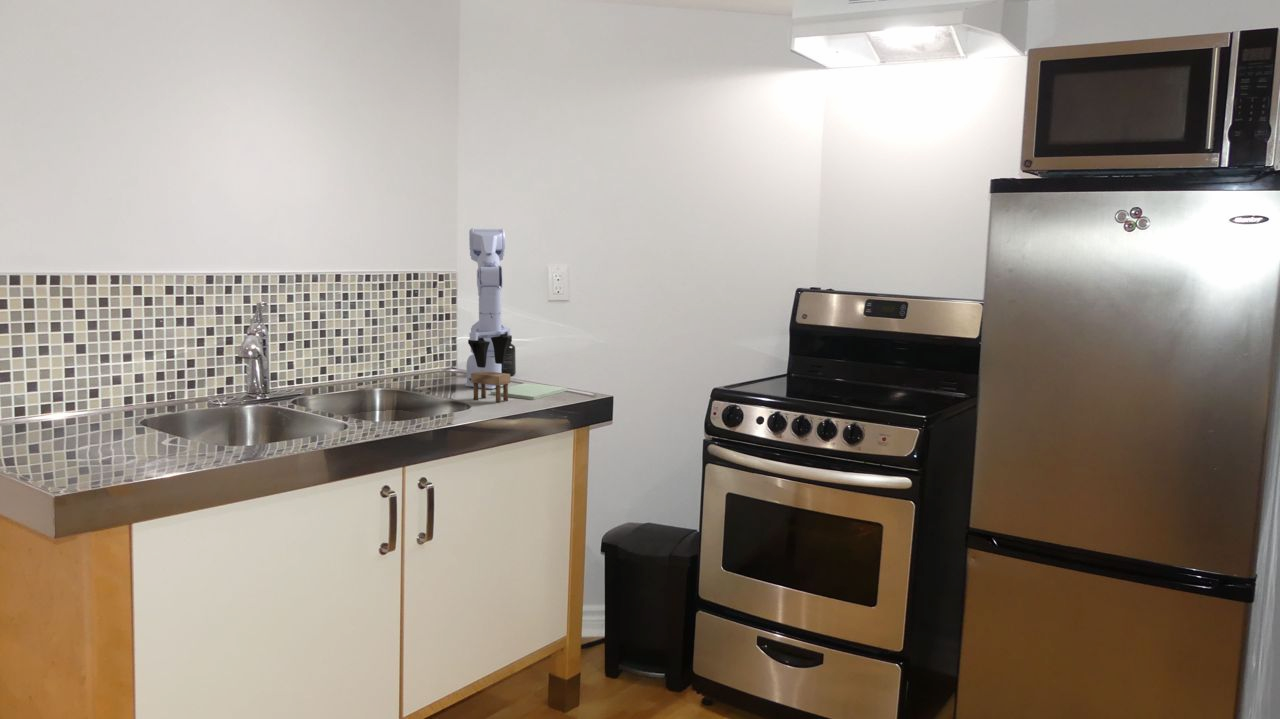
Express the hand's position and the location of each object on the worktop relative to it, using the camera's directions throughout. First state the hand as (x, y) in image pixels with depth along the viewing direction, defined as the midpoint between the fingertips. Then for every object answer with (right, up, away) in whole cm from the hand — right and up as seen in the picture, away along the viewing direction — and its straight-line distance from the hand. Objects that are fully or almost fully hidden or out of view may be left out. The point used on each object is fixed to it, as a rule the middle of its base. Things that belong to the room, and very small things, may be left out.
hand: (490, 365), depth 251 cm
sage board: (+9, -7, +13) cm, 17 cm away
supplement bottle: (-2, -3, +41) cm, 41 cm away
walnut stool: (0, -9, +1) cm, 9 cm away
